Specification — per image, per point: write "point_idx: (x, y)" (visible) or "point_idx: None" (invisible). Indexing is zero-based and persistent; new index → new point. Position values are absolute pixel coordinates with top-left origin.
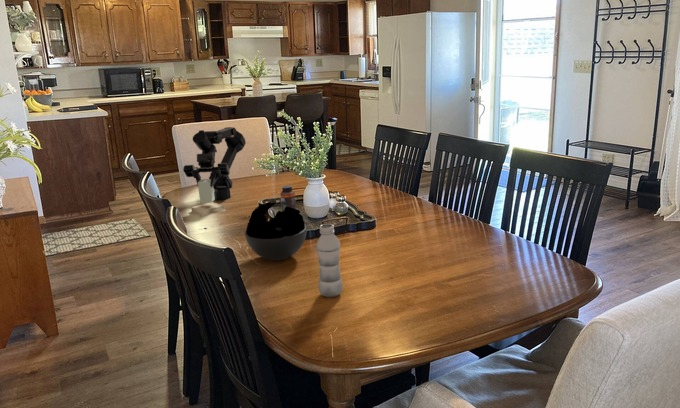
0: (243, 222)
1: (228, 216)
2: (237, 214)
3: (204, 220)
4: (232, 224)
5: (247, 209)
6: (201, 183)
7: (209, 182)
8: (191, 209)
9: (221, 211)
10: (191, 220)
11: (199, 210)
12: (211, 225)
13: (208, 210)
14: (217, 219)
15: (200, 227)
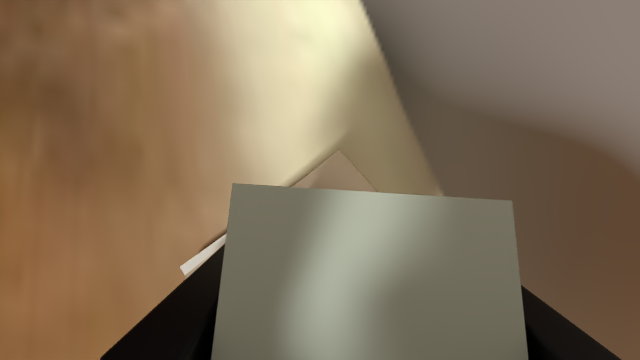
0: (70, 36)
1: (169, 179)
2: (106, 214)
3: (319, 127)
4: (136, 16)
5: (23, 339)
6: (416, 200)
7: (235, 187)
8: None
9: (216, 241)
10: (404, 146)
11: (373, 189)
12: (258, 26)
13: (302, 182)
14: (238, 129)
15: (314, 8)
